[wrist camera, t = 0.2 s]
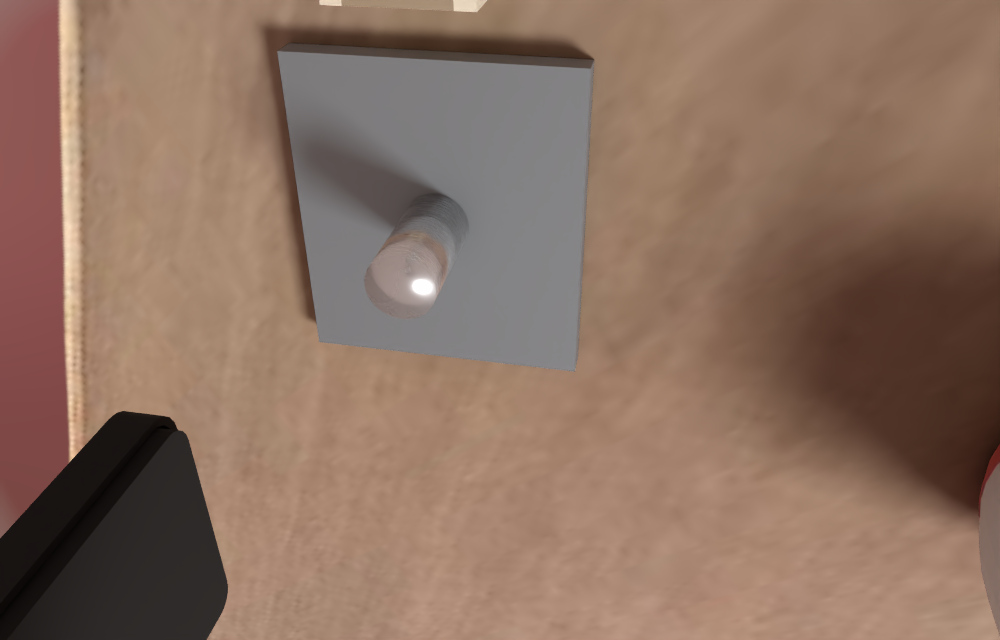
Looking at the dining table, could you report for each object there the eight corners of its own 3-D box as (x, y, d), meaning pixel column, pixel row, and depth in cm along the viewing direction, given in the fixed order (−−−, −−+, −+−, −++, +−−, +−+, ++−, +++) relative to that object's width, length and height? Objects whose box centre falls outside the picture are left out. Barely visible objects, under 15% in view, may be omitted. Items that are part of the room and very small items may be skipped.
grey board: (288, 42, 45) (277, 51, 44) (594, 59, 43) (590, 68, 41) (328, 328, 55) (319, 341, 54) (577, 356, 52) (574, 371, 51)
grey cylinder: (403, 190, 47) (360, 251, 41) (468, 196, 46) (434, 258, 41) (407, 249, 49) (367, 315, 43) (469, 255, 48) (437, 322, 43)
